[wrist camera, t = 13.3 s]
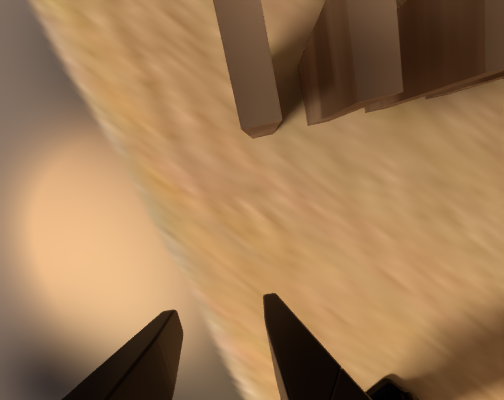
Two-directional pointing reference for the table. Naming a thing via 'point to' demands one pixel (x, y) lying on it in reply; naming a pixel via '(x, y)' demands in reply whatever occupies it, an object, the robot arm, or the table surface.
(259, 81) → the domino
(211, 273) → the table surface
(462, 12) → the domino
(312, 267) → the table surface
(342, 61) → the domino
